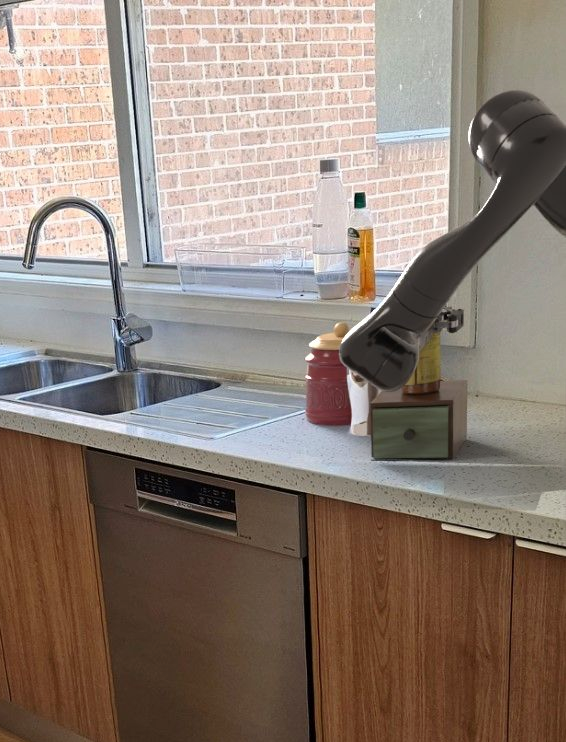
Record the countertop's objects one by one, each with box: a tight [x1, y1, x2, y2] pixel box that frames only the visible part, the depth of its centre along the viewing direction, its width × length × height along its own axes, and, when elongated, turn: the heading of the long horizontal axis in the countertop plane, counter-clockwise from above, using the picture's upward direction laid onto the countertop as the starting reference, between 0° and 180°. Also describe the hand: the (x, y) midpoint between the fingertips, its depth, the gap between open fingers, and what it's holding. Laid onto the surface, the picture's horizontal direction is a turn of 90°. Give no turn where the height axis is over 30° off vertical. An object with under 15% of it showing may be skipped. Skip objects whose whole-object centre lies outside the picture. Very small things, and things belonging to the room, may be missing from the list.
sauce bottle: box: [401, 263, 442, 395], centre depth 192 cm, size 7×6×20 cm
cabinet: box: [370, 379, 468, 462], centre depth 198 cm, size 15×13×10 cm
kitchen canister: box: [304, 321, 351, 427], centre depth 222 cm, size 13×13×18 cm
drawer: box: [373, 405, 449, 460], centre depth 196 cm, size 15×11×8 cm
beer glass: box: [346, 368, 382, 437], centre depth 210 cm, size 7×7×15 cm
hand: (421, 315), depth 193 cm, fingers open, 8 cm apart
